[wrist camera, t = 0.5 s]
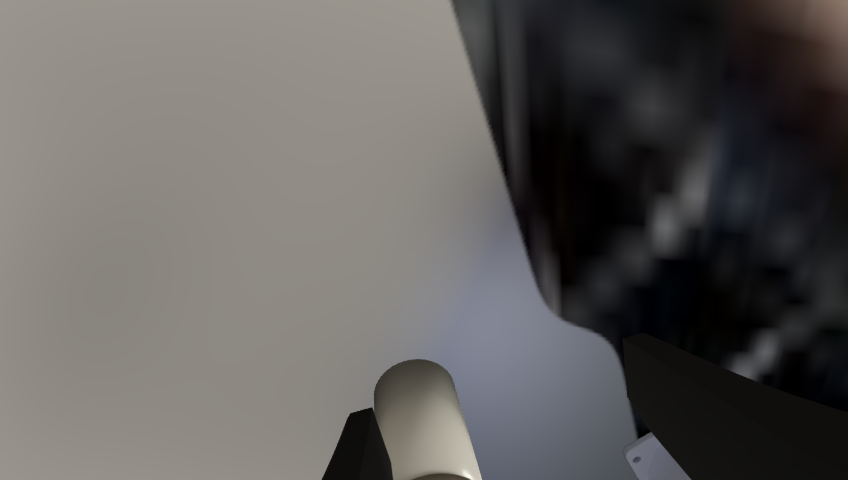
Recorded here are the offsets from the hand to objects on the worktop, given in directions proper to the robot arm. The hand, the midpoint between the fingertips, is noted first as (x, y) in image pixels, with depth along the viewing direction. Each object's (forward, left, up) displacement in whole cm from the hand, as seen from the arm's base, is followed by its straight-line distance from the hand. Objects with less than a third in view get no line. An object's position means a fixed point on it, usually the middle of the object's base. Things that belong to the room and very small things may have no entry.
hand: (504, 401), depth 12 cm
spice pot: (-5, +5, -10) cm, 12 cm away
